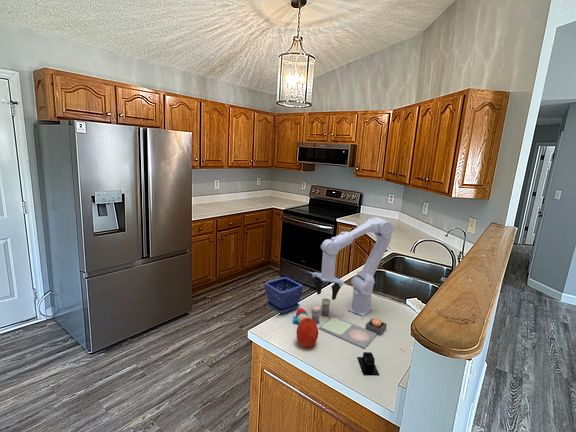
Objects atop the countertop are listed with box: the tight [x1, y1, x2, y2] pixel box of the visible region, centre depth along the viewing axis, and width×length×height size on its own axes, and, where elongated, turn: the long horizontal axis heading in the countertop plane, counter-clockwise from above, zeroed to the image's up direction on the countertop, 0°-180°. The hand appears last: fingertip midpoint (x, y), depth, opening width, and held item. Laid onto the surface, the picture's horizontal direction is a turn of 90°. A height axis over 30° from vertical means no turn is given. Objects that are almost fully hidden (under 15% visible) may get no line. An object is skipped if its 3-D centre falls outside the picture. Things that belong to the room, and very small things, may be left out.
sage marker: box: [321, 298, 331, 318], centre depth 136 cm, size 4×4×7 cm
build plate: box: [356, 351, 380, 377], centre depth 105 cm, size 12×7×5 cm, turn 1°
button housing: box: [364, 317, 388, 337], centre depth 127 cm, size 6×6×2 cm
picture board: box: [318, 316, 378, 350], centre depth 125 cm, size 12×20×1 cm, turn 52°
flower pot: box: [264, 276, 304, 315], centre depth 141 cm, size 13×13×12 cm
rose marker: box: [311, 304, 321, 325], centre depth 130 cm, size 4×4×7 cm
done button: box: [371, 317, 383, 328], centre depth 127 cm, size 4×4×2 cm
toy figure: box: [292, 307, 309, 325], centre depth 128 cm, size 8×5×15 cm
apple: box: [296, 317, 319, 348], centre depth 115 cm, size 8×8×11 cm
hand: (326, 296), depth 135 cm, fingers open, 7 cm apart
